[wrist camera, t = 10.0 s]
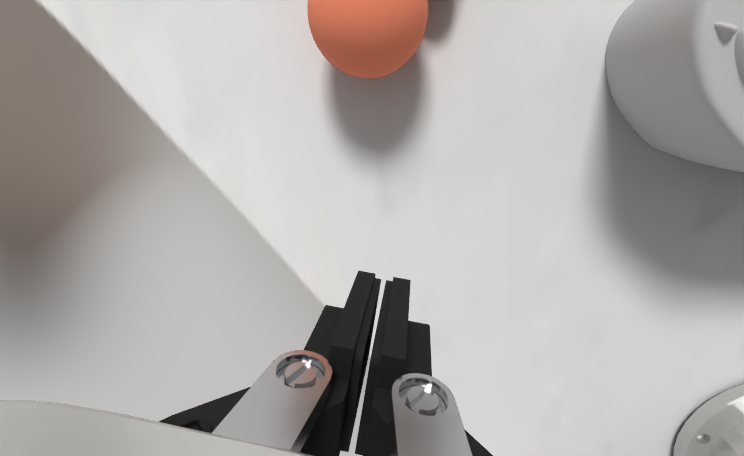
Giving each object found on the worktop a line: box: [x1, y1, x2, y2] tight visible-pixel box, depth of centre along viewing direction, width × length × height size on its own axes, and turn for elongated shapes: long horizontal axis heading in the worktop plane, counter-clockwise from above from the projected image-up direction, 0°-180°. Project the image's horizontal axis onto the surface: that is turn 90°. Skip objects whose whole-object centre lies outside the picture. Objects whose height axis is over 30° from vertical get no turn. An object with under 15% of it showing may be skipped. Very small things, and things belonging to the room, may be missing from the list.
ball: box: [308, 0, 428, 79], centre depth 19 cm, size 6×6×6 cm
